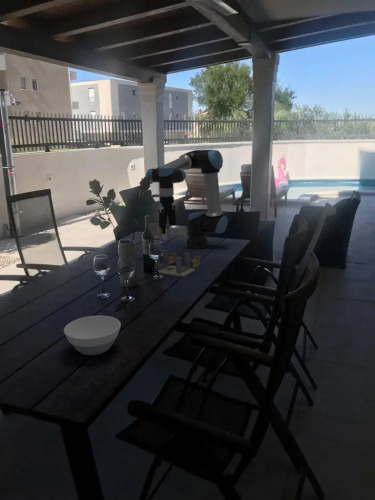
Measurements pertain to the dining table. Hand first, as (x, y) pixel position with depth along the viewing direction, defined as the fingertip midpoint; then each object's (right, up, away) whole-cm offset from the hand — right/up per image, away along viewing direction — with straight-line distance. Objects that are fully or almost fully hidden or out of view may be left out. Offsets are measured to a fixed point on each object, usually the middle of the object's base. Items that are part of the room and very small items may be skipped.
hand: (168, 238), depth 235 cm
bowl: (-22, -41, -83) cm, 96 cm away
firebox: (+2, -18, +4) cm, 19 cm away
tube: (0, +1, 0) cm, 2 cm away
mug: (-10, -12, +31) cm, 35 cm away
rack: (+7, -15, +16) cm, 23 cm away
